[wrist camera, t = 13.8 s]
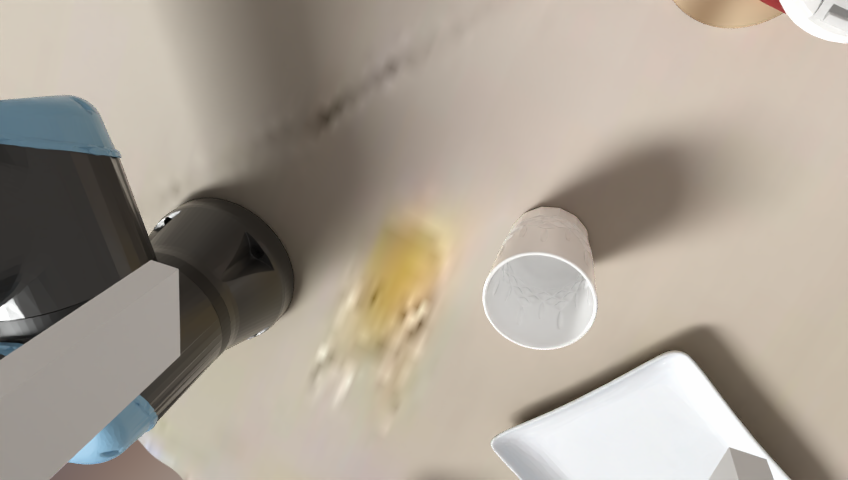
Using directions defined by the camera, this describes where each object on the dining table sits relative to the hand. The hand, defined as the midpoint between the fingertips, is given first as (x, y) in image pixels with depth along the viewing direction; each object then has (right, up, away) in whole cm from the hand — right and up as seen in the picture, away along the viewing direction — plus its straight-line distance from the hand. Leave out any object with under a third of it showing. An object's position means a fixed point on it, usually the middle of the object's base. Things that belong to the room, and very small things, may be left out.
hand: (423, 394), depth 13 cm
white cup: (+11, +4, +35) cm, 37 cm away
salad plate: (+21, -17, +42) cm, 50 cm away
